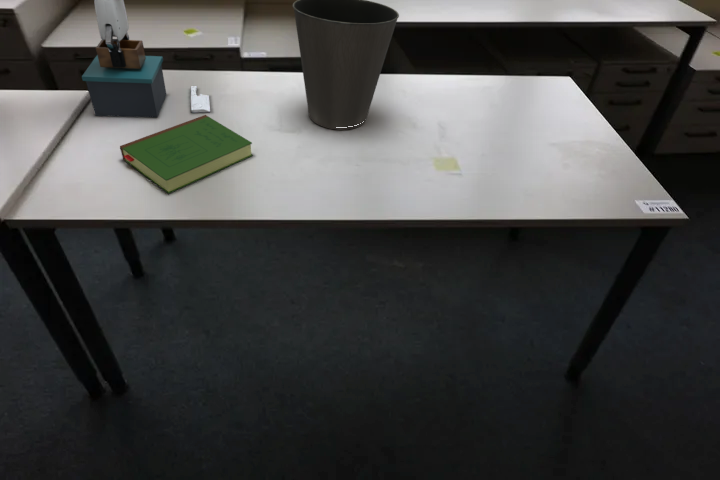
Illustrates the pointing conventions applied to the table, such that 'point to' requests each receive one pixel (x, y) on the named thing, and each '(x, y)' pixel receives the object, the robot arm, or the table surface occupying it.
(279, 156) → the table surface
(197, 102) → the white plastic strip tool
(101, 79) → the storage bin
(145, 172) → the hardcover book
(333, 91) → the waste basket
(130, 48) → the wooden box
